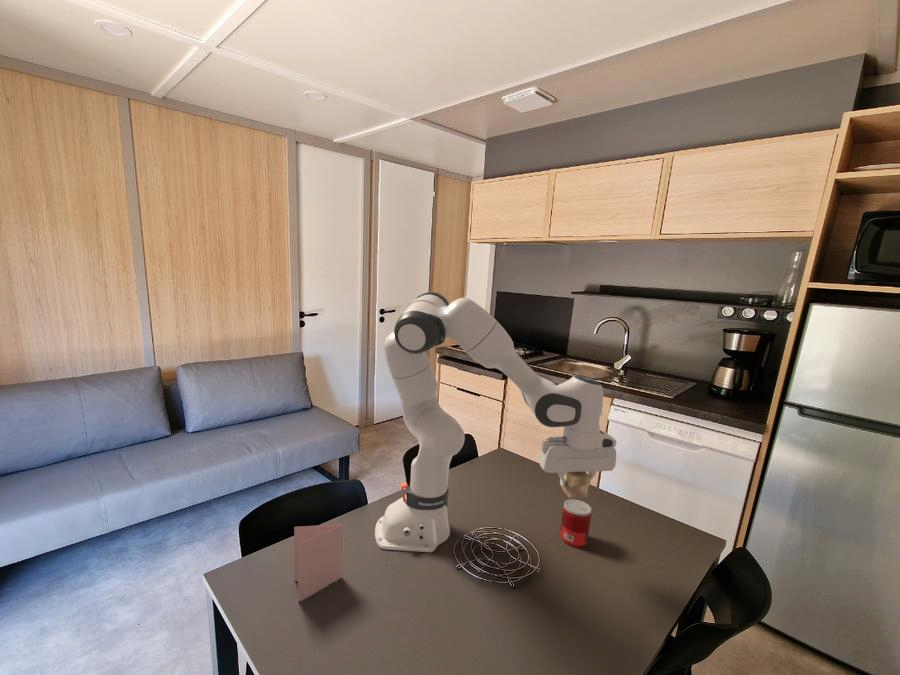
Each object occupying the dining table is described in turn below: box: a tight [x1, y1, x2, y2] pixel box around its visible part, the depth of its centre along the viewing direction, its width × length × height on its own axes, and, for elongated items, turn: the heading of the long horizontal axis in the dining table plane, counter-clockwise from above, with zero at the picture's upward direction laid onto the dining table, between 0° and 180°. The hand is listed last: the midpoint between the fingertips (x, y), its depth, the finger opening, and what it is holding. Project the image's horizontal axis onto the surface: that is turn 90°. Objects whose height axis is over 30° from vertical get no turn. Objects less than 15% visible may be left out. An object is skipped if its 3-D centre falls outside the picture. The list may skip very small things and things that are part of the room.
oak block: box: [560, 472, 590, 499], centre depth 106 cm, size 5×5×6 cm
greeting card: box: [293, 523, 344, 603], centre depth 95 cm, size 11×7×15 cm, turn 100°
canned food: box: [560, 498, 593, 548], centre depth 119 cm, size 8×8×11 cm
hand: (574, 485), depth 107 cm, fingers closed on oak block, 5 cm apart
